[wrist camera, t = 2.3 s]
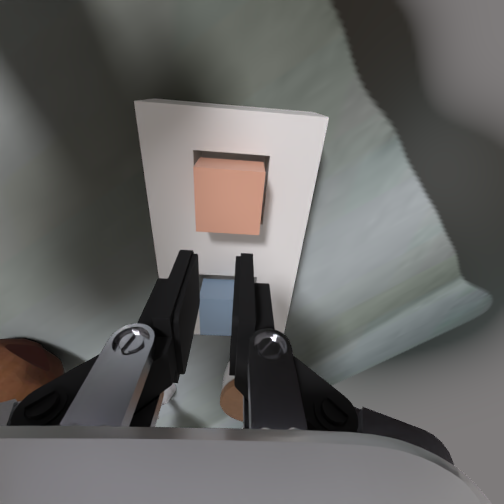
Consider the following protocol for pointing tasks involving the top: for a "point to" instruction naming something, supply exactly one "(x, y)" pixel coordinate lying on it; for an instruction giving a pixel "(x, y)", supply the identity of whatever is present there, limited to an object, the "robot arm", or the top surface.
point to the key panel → (235, 148)
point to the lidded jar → (231, 397)
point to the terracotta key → (228, 195)
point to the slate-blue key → (216, 307)
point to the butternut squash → (25, 368)
